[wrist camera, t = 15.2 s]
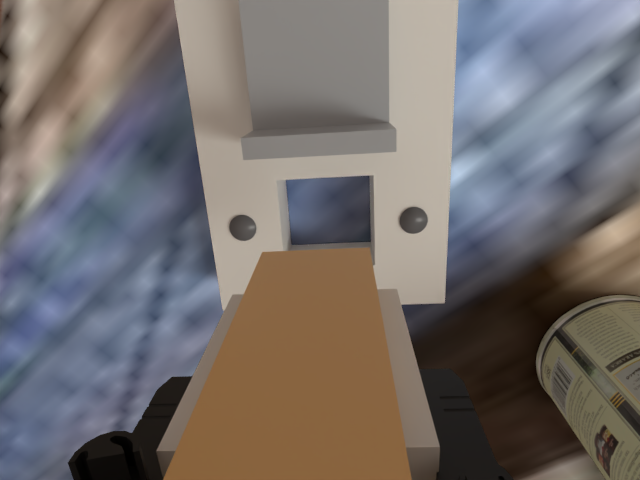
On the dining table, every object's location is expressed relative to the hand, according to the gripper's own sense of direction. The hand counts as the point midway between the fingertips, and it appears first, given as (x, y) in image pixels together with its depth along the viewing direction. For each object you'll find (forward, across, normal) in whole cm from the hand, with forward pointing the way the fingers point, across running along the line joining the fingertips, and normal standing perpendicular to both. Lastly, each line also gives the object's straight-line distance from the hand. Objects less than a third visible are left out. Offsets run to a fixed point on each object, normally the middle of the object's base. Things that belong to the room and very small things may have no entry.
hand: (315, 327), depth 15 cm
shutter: (+11, 0, +8) cm, 14 cm away
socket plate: (+15, 0, +3) cm, 16 cm away
